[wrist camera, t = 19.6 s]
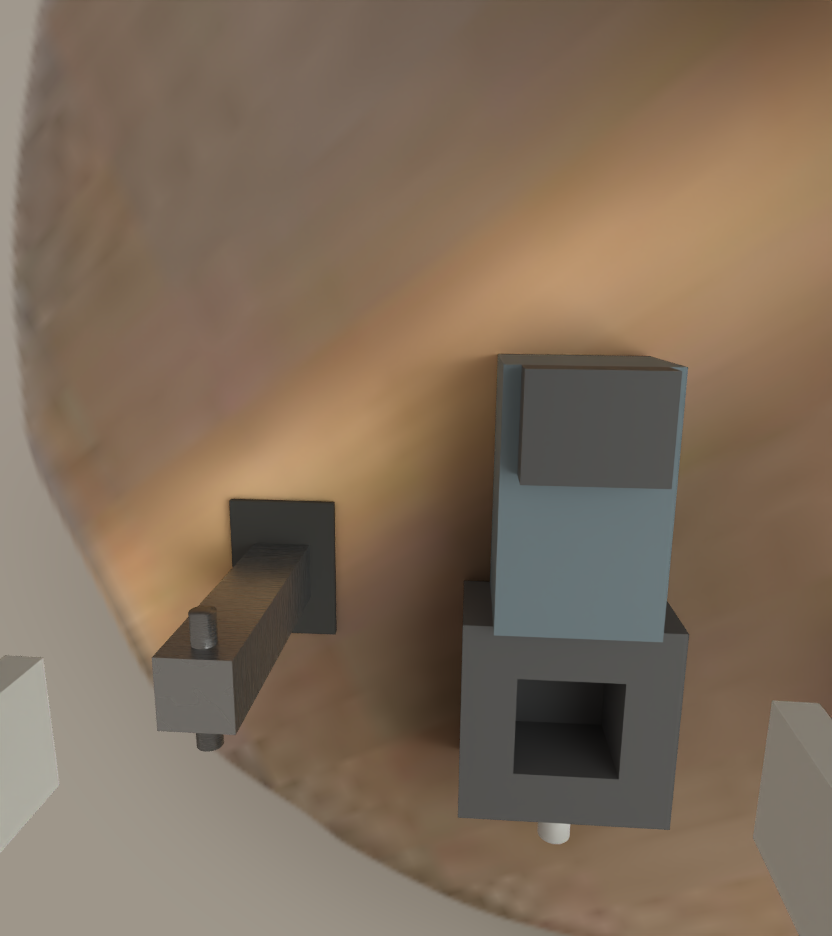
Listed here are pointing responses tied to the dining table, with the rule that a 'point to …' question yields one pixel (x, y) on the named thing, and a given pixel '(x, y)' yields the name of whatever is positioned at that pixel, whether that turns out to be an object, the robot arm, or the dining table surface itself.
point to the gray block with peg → (230, 644)
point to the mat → (297, 528)
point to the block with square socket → (577, 600)
